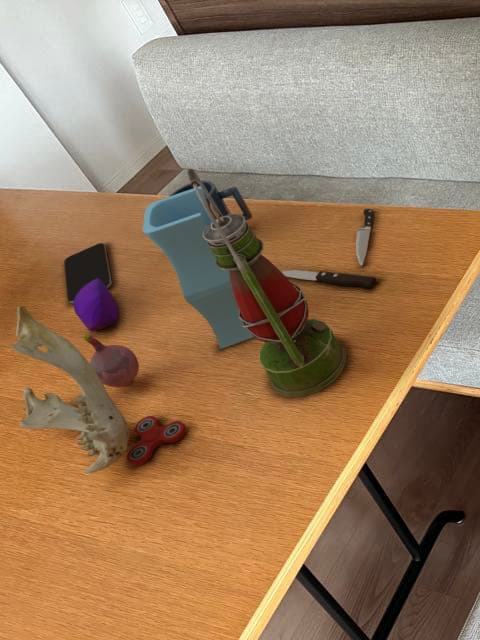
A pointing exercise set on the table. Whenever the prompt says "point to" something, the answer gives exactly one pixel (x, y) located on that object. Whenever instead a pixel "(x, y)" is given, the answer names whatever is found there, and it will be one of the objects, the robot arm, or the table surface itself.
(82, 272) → the smartphone
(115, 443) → the jawbone
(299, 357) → the lantern
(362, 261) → the knife
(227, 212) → the mug
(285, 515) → the table surface
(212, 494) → the table surface
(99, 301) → the purple eggplant
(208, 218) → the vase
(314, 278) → the kitchen knife
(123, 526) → the table surface
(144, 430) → the fidget spinner
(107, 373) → the vegetable
